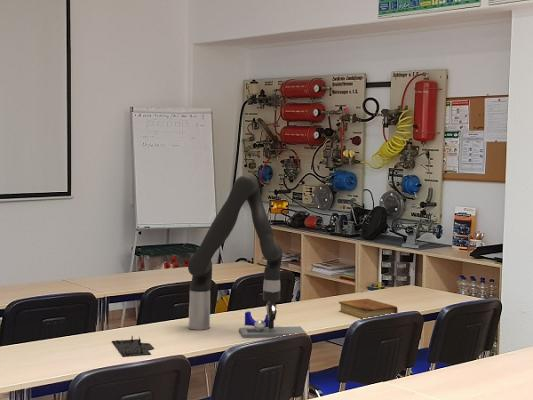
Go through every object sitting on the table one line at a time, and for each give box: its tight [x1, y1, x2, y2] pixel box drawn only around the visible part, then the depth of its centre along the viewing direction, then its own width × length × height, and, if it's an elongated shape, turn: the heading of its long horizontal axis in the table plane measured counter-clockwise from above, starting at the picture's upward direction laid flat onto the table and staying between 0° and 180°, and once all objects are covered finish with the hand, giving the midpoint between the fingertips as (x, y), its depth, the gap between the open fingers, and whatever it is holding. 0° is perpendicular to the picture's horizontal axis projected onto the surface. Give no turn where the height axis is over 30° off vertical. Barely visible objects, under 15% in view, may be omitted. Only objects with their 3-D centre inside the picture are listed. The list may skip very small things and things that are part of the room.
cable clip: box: [244, 311, 268, 327], centre depth 383 cm, size 12×4×6 cm, turn 67°
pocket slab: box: [238, 325, 307, 339], centre depth 367 cm, size 28×13×2 cm, turn 99°
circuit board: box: [111, 335, 155, 358], centre depth 339 cm, size 25×14×3 cm, turn 20°
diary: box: [338, 298, 399, 320], centre depth 411 cm, size 23×19×6 cm
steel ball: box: [253, 319, 266, 331], centre depth 366 cm, size 5×5×5 cm
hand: (270, 328), depth 367 cm, fingers closed
